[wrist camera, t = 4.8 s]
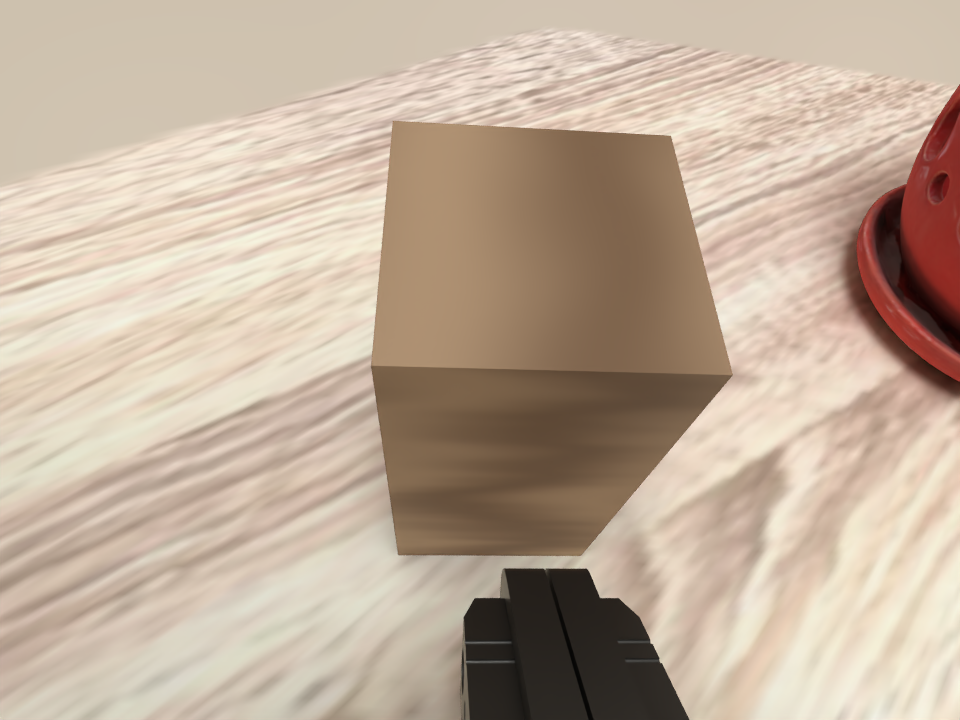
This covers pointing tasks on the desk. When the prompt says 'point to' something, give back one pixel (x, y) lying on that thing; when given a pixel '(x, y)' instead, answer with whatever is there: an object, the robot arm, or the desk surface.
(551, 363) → the walnut block
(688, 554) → the desk surface
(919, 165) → the plant pot
